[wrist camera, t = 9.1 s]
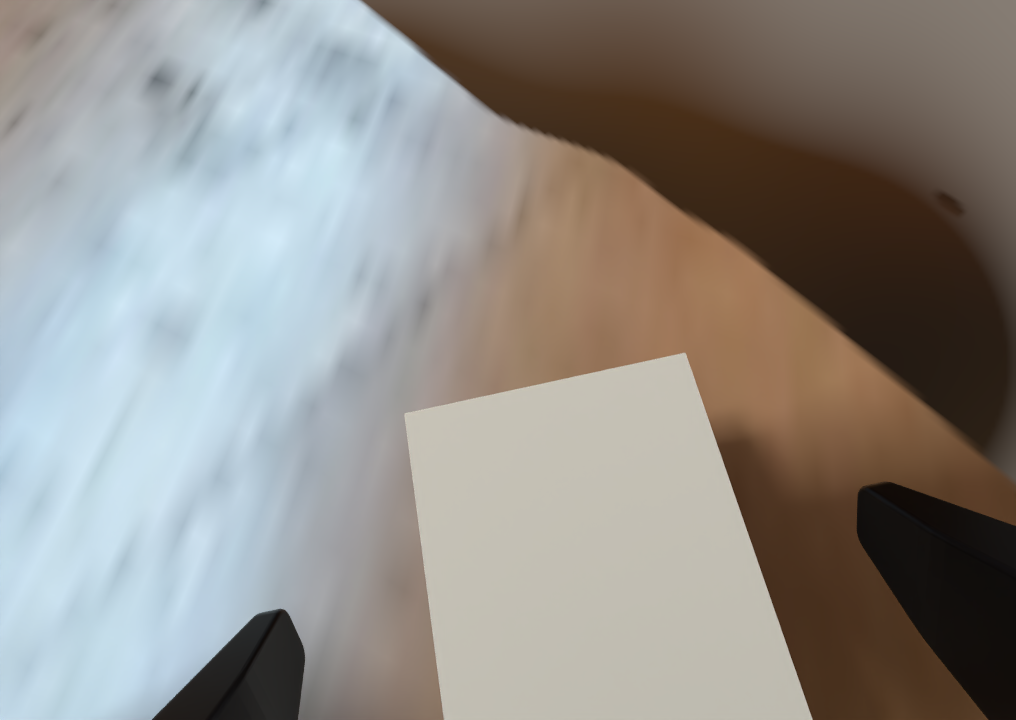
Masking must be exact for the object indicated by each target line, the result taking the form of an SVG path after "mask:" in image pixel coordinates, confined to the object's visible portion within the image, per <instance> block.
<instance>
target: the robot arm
mask: <svg viewBox="0 0 1016 720" xmlns="http://www.w3.org/2000/svg"><path fill="white" fill-rule="evenodd" d="M857 534H858V538H859V540H860V543H861V545H862V546H863V548H864V550H865V551H866V553H867V554H868V556H869V557H870V559H871V560H872V562H873V563H874V565H875V566H876V568H877V569H878V571H879V572H880V574H881V575H882V577H883V578H884V580H885V582H886V583H887V585H888V586H889V588H890V589H891V591H892V592H893V594H894V595H895V597H896V598H897V600H898V601H899V603H900V604H901V606H902V607H903V609H904V610H905V612H906V614H907V615H908V617H909V618H910V620H911V621H912V623H913V624H914V625H915V627H916V628H917V630H918V631H919V633H920V634H921V636H922V637H923V638H924V639H925V641H926V642H927V643H928V645H929V646H930V647H931V649H932V650H933V651H934V652H935V654H936V655H937V656H938V657H939V659H940V660H941V661H942V662H943V664H944V665H945V666H946V667H947V669H948V670H949V671H950V672H951V674H952V675H953V676H954V677H955V679H956V680H957V681H958V682H959V684H960V685H961V686H962V687H963V689H964V690H965V691H966V692H967V694H968V695H969V696H970V697H971V699H972V700H973V701H974V702H975V704H976V705H977V706H978V707H979V709H980V710H981V711H982V712H983V713H984V715H985V716H986V717H987V718H988V720H1016V526H1014V525H1011V524H1008V523H1005V522H1002V521H1000V520H997V519H994V518H991V517H988V516H985V515H983V514H980V513H977V512H974V511H971V510H968V509H966V508H963V507H960V506H957V505H954V504H951V503H949V502H946V501H943V500H940V499H937V498H934V497H932V496H929V495H926V494H923V493H920V492H917V491H915V490H912V489H909V488H906V487H903V486H900V485H898V484H895V483H891V482H881V483H876V484H871V485H866V486H863V487H862V488H861V489H860V490H859V492H858V502H857ZM304 665H305V653H304V648H303V645H302V642H301V640H300V638H299V636H298V634H297V631H296V629H295V627H294V625H293V622H292V620H291V618H290V616H289V614H288V613H287V612H286V611H285V610H284V609H276V610H272V611H267V612H262V613H259V614H257V615H255V616H254V617H253V618H252V619H251V620H250V621H249V622H248V623H247V624H246V625H245V626H244V627H243V628H242V629H241V630H240V631H239V632H238V633H237V634H236V635H235V636H234V637H233V638H232V639H231V640H230V641H229V642H228V643H227V644H226V645H225V646H224V647H223V648H222V649H221V650H220V651H219V652H218V653H217V654H216V655H215V656H214V657H213V658H212V659H211V660H210V661H209V663H208V664H207V665H206V666H205V667H204V668H203V669H202V670H201V671H200V672H199V673H198V674H197V675H196V676H195V677H194V678H193V679H192V680H191V681H190V682H189V683H188V684H187V685H186V686H185V687H184V688H183V689H182V690H181V691H180V692H179V693H178V694H177V695H176V696H175V697H174V698H173V699H172V700H171V701H170V702H169V703H168V704H167V705H166V706H165V707H164V708H163V709H162V710H161V711H160V712H159V713H158V714H157V715H156V716H155V717H154V718H153V719H152V720H298V714H299V705H300V697H301V689H302V681H303V673H304Z"/></svg>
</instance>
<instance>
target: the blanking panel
mask: <svg viewBox="0 0 1016 720" xmlns="http://www.w3.org/2000/svg"><path fill="white" fill-rule="evenodd" d="M404 415H405V423H406V430H407V438H408V446H409V453H410V461H411V469H412V477H413V484H414V492H415V500H416V507H417V515H418V523H419V531H420V538H421V546H422V554H423V562H424V569H425V577H426V585H427V592H428V600H429V608H430V616H431V623H432V631H433V639H434V647H435V654H436V662H437V670H438V677H439V685H440V693H441V701H442V708H443V716H444V720H812V717H811V714H810V711H809V708H808V705H807V702H806V699H805V696H804V694H803V691H802V688H801V685H800V682H799V679H798V676H797V673H796V670H795V668H794V665H793V662H792V659H791V656H790V653H789V650H788V647H787V645H786V642H785V639H784V636H783V633H782V630H781V627H780V624H779V621H778V619H777V616H776V613H775V610H774V607H773V604H772V601H771V598H770V596H769V593H768V590H767V587H766V584H765V581H764V578H763V575H762V572H761V570H760V567H759V564H758V561H757V558H756V555H755V552H754V549H753V546H752V544H751V541H750V538H749V535H748V532H747V529H746V526H745V523H744V521H743V518H742V515H741V512H740V509H739V506H738V503H737V500H736V497H735V495H734V492H733V489H732V486H731V483H730V480H729V477H728V474H727V472H726V469H725V466H724V463H723V460H722V457H721V454H720V451H719V448H718V446H717V443H716V440H715V437H714V434H713V431H712V428H711V425H710V422H709V420H708V417H707V414H706V411H705V408H704V405H703V402H702V399H701V397H700V394H699V391H698V388H697V385H696V382H695V379H694V376H693V373H692V371H691V368H690V365H689V362H688V359H687V356H686V353H682V354H677V355H673V356H668V357H663V358H659V359H654V360H650V361H645V362H640V363H636V364H631V365H626V366H622V367H617V368H613V369H608V370H603V371H599V372H594V373H589V374H585V375H580V376H576V377H571V378H566V379H562V380H557V381H552V382H548V383H543V384H539V385H534V386H529V387H525V388H520V389H516V390H511V391H506V392H502V393H497V394H492V395H488V396H483V397H479V398H474V399H469V400H465V401H460V402H455V403H451V404H446V405H442V406H437V407H432V408H428V409H423V410H418V411H414V412H409V413H405V414H404Z"/></svg>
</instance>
